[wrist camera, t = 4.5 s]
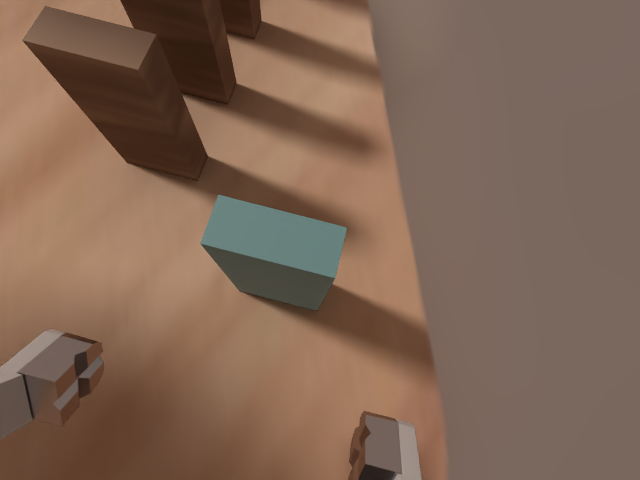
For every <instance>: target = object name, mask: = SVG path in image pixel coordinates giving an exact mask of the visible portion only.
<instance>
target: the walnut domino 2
mask: <svg viewBox="0 0 640 480" xmlns="http://www.w3.org/2000/svg"><path fill="white" fill-rule="evenodd" d="M121 2H122V4H123V7H124V9H125V11H126V13H127V15H128V17H129V19H130V21H131V23H132V25H133V27H134V29H137V30H141V31H145V32H149V33H153V34H156V35H157V37H158V40H159V42H160V44H161V47H162V49H163V51H164V54H165V56H166V59H167V61H168V63H169V66H170V68H171V70H172V73H173V75H174V77H175V80H176V82H177V85H178V87H179V89H180V92H182V93H186V94H190V95H194V96H197V97H201V98H205V99H209V100H213V101H217V102H221V103H225V104H228V103H229V101H230V98H231V96H232V93H233V91H234V88H235V86H236V78H235V73H234V68H233V63H232V58H231V54H230V49H229V44H228V39H227V34H226V29H225V24H224V19H223V14H222V9H221V5H220V0H121Z"/></svg>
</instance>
